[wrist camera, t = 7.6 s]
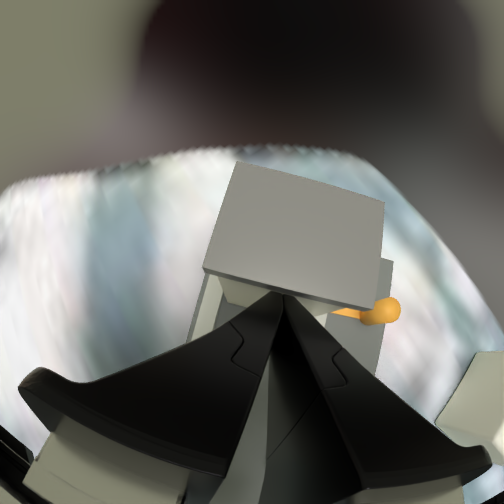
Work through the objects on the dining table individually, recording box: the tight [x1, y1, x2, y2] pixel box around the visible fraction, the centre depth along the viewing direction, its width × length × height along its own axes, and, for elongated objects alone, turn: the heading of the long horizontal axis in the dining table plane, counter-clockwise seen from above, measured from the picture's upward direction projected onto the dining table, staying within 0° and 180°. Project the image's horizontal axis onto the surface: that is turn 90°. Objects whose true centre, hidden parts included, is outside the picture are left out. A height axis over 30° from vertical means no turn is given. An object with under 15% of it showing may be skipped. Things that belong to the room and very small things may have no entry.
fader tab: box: [202, 161, 385, 317], centre depth 12 cm, size 3×5×10 cm
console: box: [186, 258, 401, 504], centre depth 14 cm, size 24×12×4 cm, turn 166°
